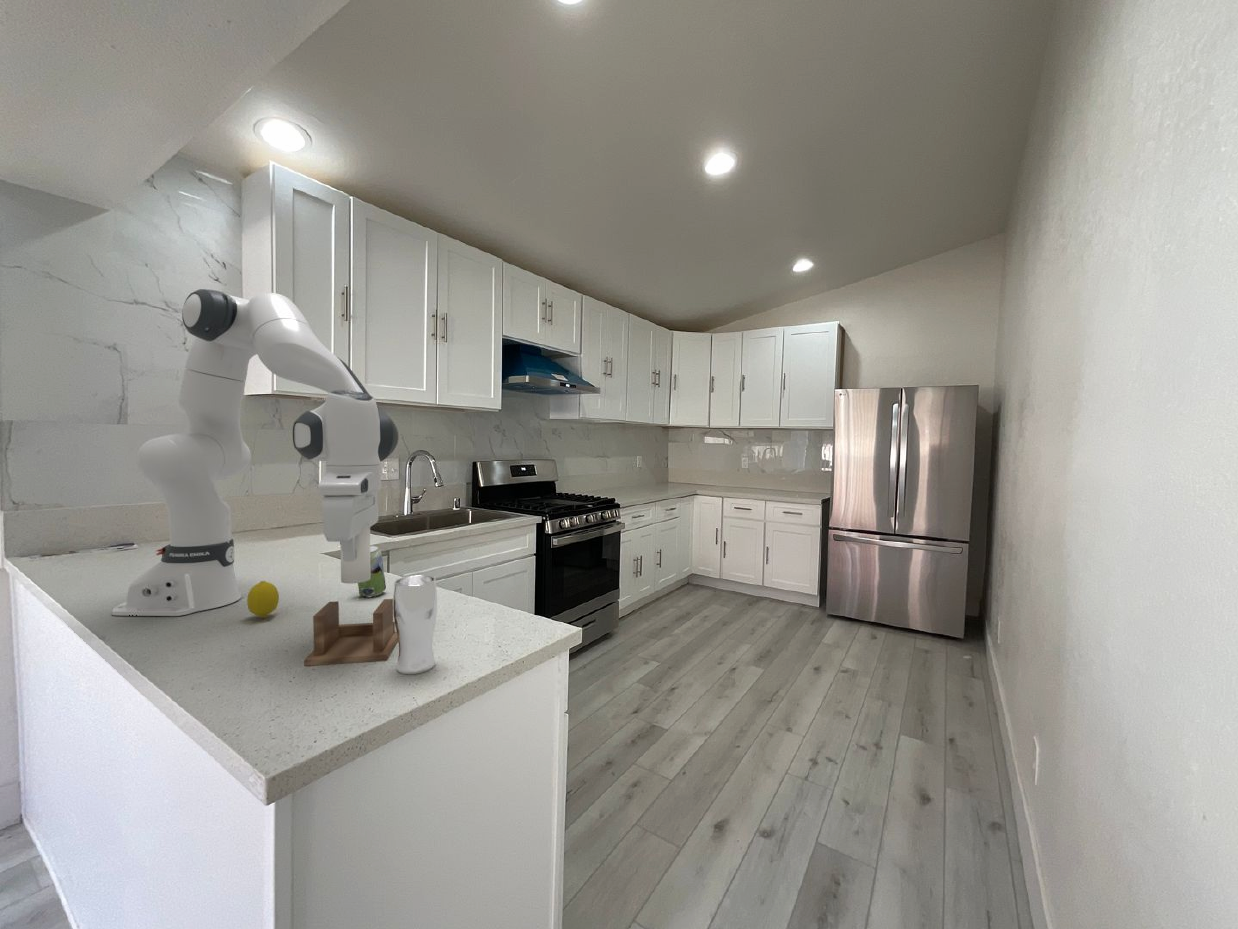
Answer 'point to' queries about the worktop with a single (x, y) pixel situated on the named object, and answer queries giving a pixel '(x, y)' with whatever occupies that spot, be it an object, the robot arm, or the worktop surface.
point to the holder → (352, 636)
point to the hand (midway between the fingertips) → (355, 556)
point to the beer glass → (415, 622)
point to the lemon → (263, 599)
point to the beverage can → (374, 575)
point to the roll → (358, 560)
